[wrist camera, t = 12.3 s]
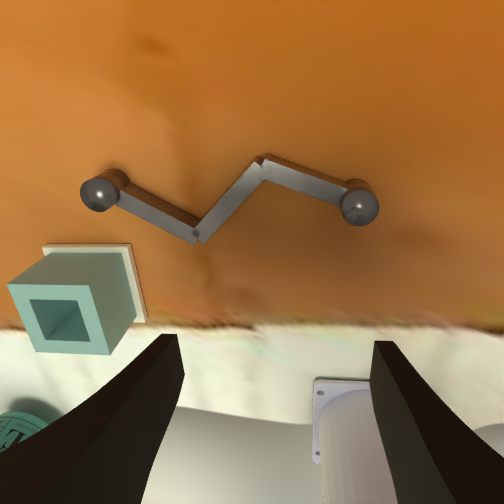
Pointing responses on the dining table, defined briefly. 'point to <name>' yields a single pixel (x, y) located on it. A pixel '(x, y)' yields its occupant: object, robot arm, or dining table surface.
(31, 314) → the hollow square tube
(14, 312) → the dining table surface
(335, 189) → the grey zigzag bar
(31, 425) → the beverage bottle
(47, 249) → the coaster
